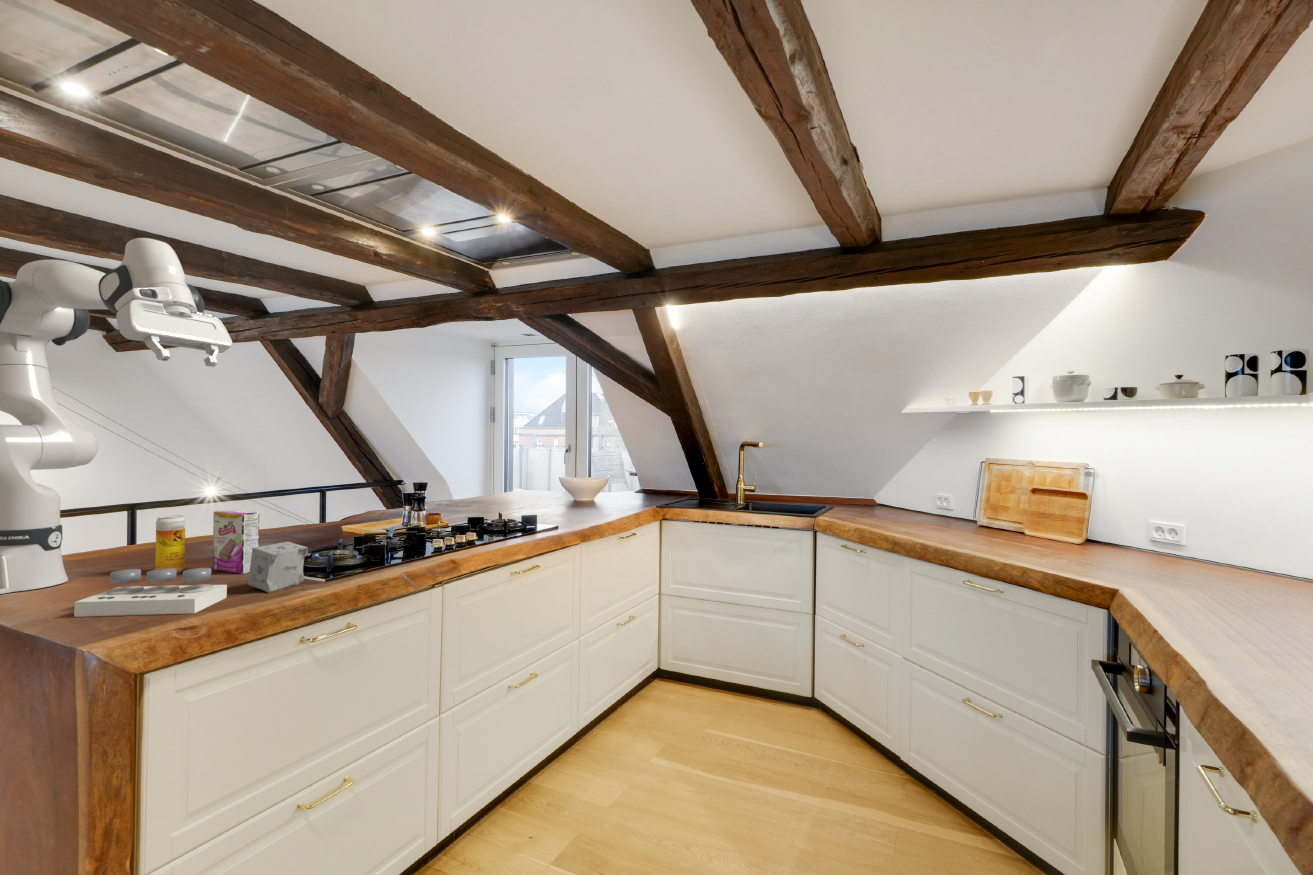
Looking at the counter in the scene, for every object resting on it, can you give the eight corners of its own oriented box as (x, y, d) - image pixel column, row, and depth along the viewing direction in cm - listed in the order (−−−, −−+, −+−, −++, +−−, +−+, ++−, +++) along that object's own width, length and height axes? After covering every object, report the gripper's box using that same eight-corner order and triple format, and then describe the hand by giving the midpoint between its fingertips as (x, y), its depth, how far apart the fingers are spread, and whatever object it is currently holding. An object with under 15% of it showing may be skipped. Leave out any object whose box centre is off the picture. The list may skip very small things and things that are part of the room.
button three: (140, 583, 126) (141, 573, 126) (156, 577, 131) (156, 568, 131) (166, 582, 127) (167, 573, 127) (181, 576, 132) (181, 568, 132)
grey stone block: (271, 593, 139) (272, 550, 139) (246, 590, 141) (247, 547, 141) (308, 584, 148) (309, 543, 148) (284, 580, 151) (285, 540, 151)
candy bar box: (211, 571, 159) (212, 511, 159) (229, 567, 164) (230, 509, 164) (242, 574, 156) (243, 513, 156) (259, 570, 161) (260, 511, 161)
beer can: (167, 575, 154) (168, 518, 154) (149, 573, 155) (150, 517, 155) (190, 570, 160) (191, 515, 160) (172, 568, 161) (173, 514, 161)
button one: (177, 582, 127) (177, 573, 127) (191, 576, 132) (191, 567, 132) (202, 581, 128) (202, 572, 128) (216, 576, 133) (216, 567, 133)
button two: (103, 583, 125) (103, 574, 125) (121, 578, 130) (121, 569, 130) (130, 583, 126) (130, 573, 126) (146, 577, 131) (146, 568, 131)
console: (74, 616, 119) (74, 600, 119) (118, 600, 131) (118, 585, 131) (194, 613, 123) (194, 597, 123) (226, 597, 135) (226, 582, 135)
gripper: (210, 323, 136) (228, 375, 134) (104, 302, 117) (124, 363, 115) (227, 309, 135) (246, 361, 133) (123, 286, 115) (143, 347, 113)
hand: (189, 362), depth 124 cm, fingers open, 8 cm apart
